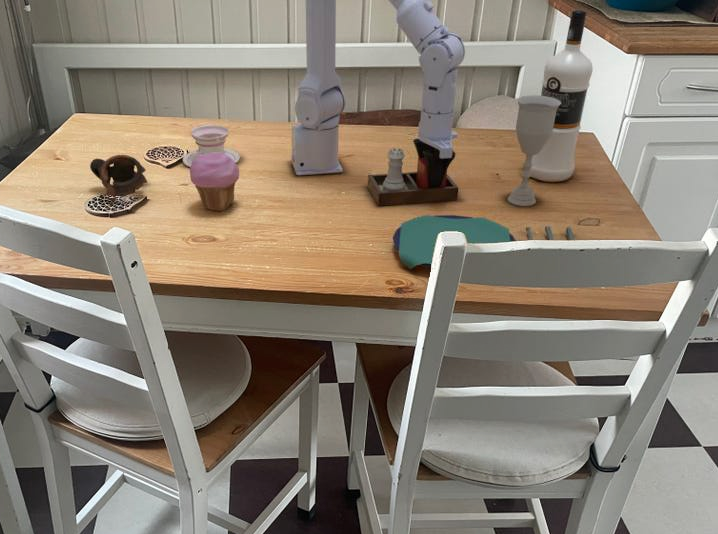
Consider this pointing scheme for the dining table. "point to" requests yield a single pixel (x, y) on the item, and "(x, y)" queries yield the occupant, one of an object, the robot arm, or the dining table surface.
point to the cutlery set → (422, 231)
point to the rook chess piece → (394, 171)
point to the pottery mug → (119, 175)
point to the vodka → (564, 104)
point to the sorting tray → (410, 191)
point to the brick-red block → (425, 175)
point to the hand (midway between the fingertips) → (430, 182)
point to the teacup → (209, 143)
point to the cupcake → (214, 179)
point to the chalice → (532, 138)
